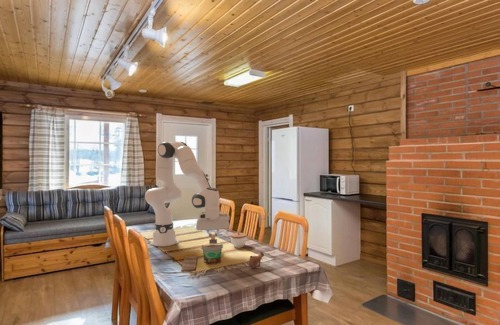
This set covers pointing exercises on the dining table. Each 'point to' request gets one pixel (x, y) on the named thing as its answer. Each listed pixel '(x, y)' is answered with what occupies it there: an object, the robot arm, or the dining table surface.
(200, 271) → the dining table surface
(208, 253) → the food container
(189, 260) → the wooden board
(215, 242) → the turner
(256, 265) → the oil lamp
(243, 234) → the lidded jar
